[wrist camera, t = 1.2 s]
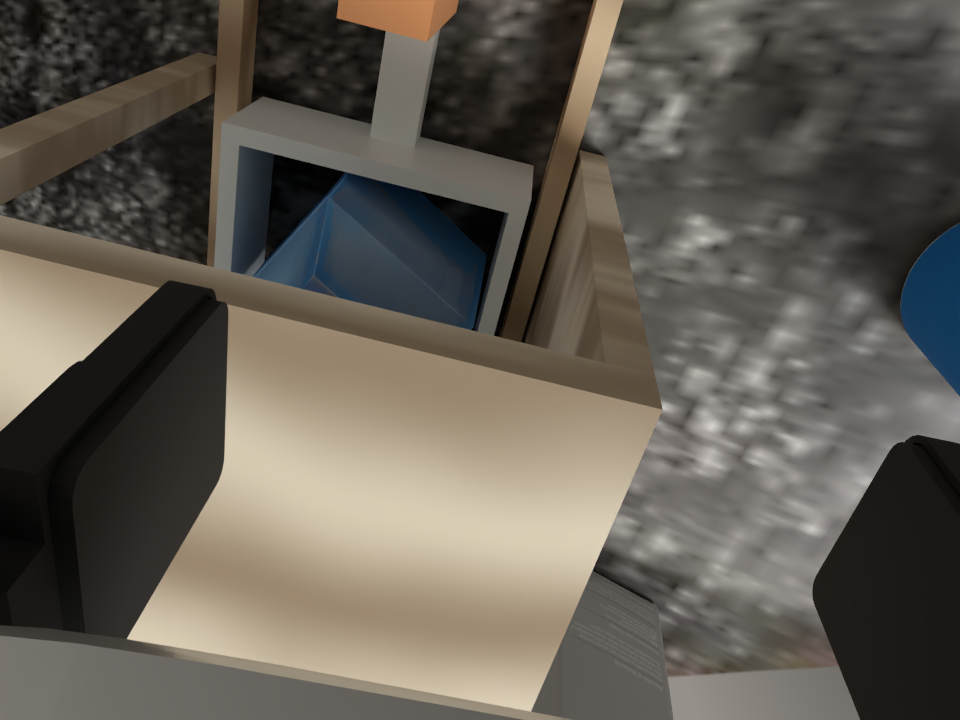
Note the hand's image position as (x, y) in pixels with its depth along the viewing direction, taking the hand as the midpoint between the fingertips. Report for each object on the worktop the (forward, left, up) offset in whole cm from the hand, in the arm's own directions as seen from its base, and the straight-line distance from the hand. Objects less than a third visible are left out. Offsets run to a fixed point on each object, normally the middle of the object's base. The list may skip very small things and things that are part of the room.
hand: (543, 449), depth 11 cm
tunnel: (+7, -5, -20) cm, 21 cm away
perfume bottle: (+7, -5, -20) cm, 22 cm away
